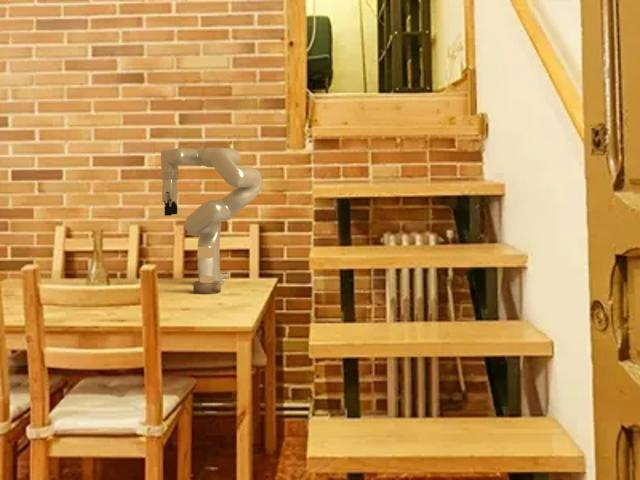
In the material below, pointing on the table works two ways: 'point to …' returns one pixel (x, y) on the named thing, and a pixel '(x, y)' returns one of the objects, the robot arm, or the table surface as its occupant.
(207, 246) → the beer glass
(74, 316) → the table surface
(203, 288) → the walnut pedestal
